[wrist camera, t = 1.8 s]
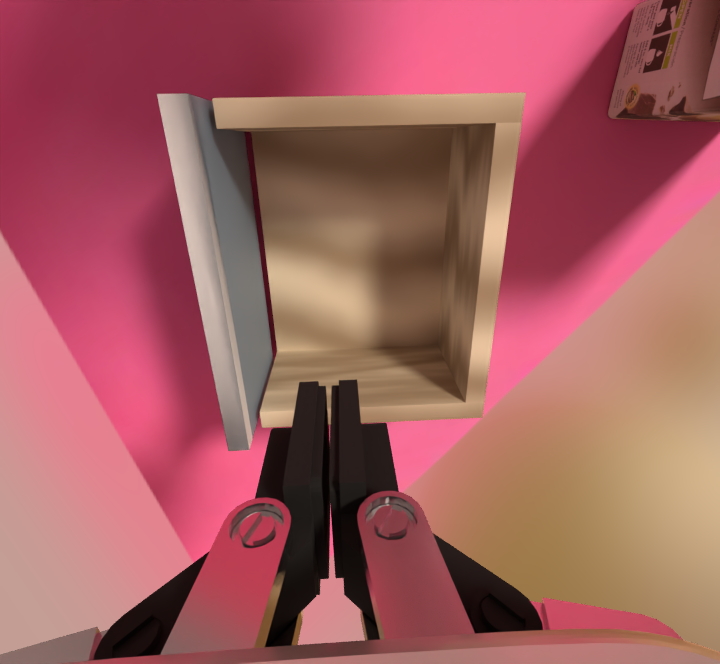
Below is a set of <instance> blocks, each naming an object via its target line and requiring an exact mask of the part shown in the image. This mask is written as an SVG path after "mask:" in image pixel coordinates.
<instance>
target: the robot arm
mask: <svg viewBox="0 0 720 664" xmlns="http://www.w3.org/2000/svg"><path fill="white" fill-rule="evenodd" d="M330 503H331V517H332V532H333V547H334V561H335V575H336V578H344V594H345V595H346V596H347V597H348V598H349V599H350V600H351V601H352V602H353V603H354V604H355V605H356V606H357V607H359V608H360V613H361V622H362V627H363V632H364V637H365V641H351V642H336V643H322V644H309V645H297V644H298V640H299V635H300V630H301V626H302V618H303V609H304V608H305V607H306V606H307V605H308V604H309V603H310V602H311V601H312V600H313V599H314V598H315V597H316V595H319V594H320V579H328V578H329V541H330ZM0 664H720V652H719V651H716V650H713V649H710V648H707V647H704V646H701V645H698V644H695V643H692V642H688V641H685V640H683V639H682V638H681V637H680V636H679V635H678V634H677V633H676V632H675V631H674V630H673V629H671V628H670V627H668V626H667V625H665V624H663V623H662V622H660V621H659V620H657V619H654V618H651V617H648V616H645V615H642V614H636V613H631V612H625V611H618V610H612V609H607V608H601V607H595V606H589V605H583V604H577V603H571V602H565V601H559V600H554V599H548V598H543V600H542V603H538V602H533V601H529V599H528V598H527V597H525V596H524V595H523V594H522V593H521V592H519V591H518V590H517V589H516V588H514V587H513V586H511V585H510V584H508V583H507V582H505V581H503V580H502V579H501V578H499V577H498V576H496V575H495V574H493V573H492V572H490V571H489V570H487V569H486V568H484V567H483V566H481V565H480V564H478V563H477V562H475V561H474V560H472V559H471V558H469V557H468V556H466V555H465V554H463V553H462V552H460V551H459V550H457V549H456V548H454V547H453V546H451V545H450V544H448V543H447V542H445V541H444V540H442V539H441V538H439V537H438V536H436V535H435V534H433V533H432V531H431V528H430V526H429V524H428V521H427V519H426V517H425V515H424V512H423V510H422V508H421V507H420V505H419V504H418V503H417V502H416V501H415V500H414V499H413V498H412V497H410V496H408V495H406V494H404V493H401V492H399V491H398V485H397V480H396V474H395V468H394V463H393V457H392V452H391V446H390V440H389V435H388V429H387V424H386V423H375V424H361V418H360V406H359V394H358V383H357V379H355V380H339V385H332V388H331V430H330V441H329V426H328V410H327V394H326V386H319V382H318V381H310V382H299V387H298V393H297V399H296V405H295V411H294V418H293V424H292V427H291V428H273V429H272V430H271V433H270V437H269V441H268V445H267V450H266V454H265V458H264V462H263V467H262V471H261V475H260V480H259V484H258V488H257V492H256V497H255V499H252V500H249V501H246V502H244V503H243V504H241V505H239V506H237V507H236V508H235V509H234V510H233V511H232V512H230V513H229V515H228V516H227V518H226V519H225V521H224V522H223V525H222V527H221V529H220V531H219V533H218V535H217V537H216V539H215V541H214V543H213V545H212V548H211V550H210V551H209V552H208V553H207V554H205V555H204V556H203V557H201V558H200V559H198V560H197V561H196V562H194V563H193V564H192V565H190V566H189V567H188V568H186V569H185V570H184V571H182V572H181V573H180V574H178V575H177V576H176V577H174V578H173V579H172V580H170V581H169V582H168V583H166V584H165V585H164V586H162V587H161V588H160V589H158V590H157V591H155V592H154V593H153V594H151V595H150V596H149V597H147V598H146V599H145V600H143V601H142V602H141V603H139V604H138V605H137V606H136V607H134V608H133V609H131V610H130V611H128V612H127V613H126V614H124V615H123V616H122V617H121V618H120V619H119V620H118V621H116V623H114V624H113V625H112V626H111V627H110V629H109V630H105V631H102V632H100V631H99V629H98V627H95V628H91V629H88V630H84V631H81V632H77V633H74V634H70V635H67V636H63V637H60V638H56V639H53V640H49V641H46V642H43V643H40V644H36V645H32V646H29V647H25V648H22V649H18V650H15V651H11V652H8V653H4V654H1V655H0Z"/></svg>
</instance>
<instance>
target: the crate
mask: <svg viewBox="0 0 720 664" xmlns="http://www.w3.org/2000/svg"><path fill="white" fill-rule="evenodd" d="M525 94H526V93H476V94H419V95H362V96H305V97H248V98H212V100H213V107H214V114H215V120H216V127H217V129H225V130H235V131H245V132H251V136H252V145H253V153H254V161H255V170H256V178H257V186H258V195H259V203H260V211H261V220H262V228H263V236H264V245H265V253H266V262H267V270H268V278H269V287H270V295H271V303H272V312H273V320H274V328H275V337H276V345H277V354H276V357H275V361H274V364H273V368H272V371H271V375H270V378H269V382H268V385H267V388H266V392H265V395H264V399H263V402H262V406H261V409H260V418H261V424H262V428H267V427H289V426H292V424H293V418H294V411H295V405H296V399H297V393H298V387H299V382H310V381H318V382H319V386H326V394H327V410H328V425H331V388H332V385H339V380H355V379H357V383H358V394H359V406H360V418H361V423H375V422H397V421H418V420H440V419H461V418H482V417H483V410H484V402H485V394H486V387H487V379H488V372H489V364H490V357H491V349H492V342H493V334H494V327H495V319H496V312H497V304H498V297H499V289H500V282H501V274H502V267H503V259H504V252H505V244H506V237H507V229H508V221H509V214H510V206H511V199H512V191H513V184H514V176H515V169H516V161H517V154H518V146H519V139H520V131H521V124H522V116H523V109H524V101H525Z"/></svg>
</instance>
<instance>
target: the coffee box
mask: <svg viewBox="0 0 720 664" xmlns="http://www.w3.org/2000/svg"><path fill="white" fill-rule="evenodd" d="M608 116H609V117H610V118H612V119H632V120H667V121H705V122H720V0H647V1H645V2H642V3H640V4H638V5H636V7H635V8H634V12H633V16H632V20H631V23H630V27H629V31H628V35H627V39H626V43H625V47H624V51H623V55H622V58H621V62H620V66H619V70H618V74H617V78H616V82H615V86H614V90H613V94H612V98H611V102H610V106H609V110H608Z"/></svg>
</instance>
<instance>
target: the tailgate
mask: <svg viewBox="0 0 720 664" xmlns="http://www.w3.org/2000/svg"><path fill="white" fill-rule="evenodd" d="M157 97H158V102H159V107H160V112H161V117H162V122H163V127H164V132H165V137H166V142H167V147H168V152H169V157H170V162H171V167H172V172H173V177H174V182H175V187H176V192H177V197H178V202H179V207H180V212H181V217H182V222H183V227H184V232H185V237H186V242H187V247H188V252H189V257H190V262H191V267H192V272H193V276H194V281H195V286H196V291H197V296H198V301H199V306H200V311H201V316H202V321H203V326H204V331H205V336H206V341H207V346H208V351H209V356H210V361H211V366H212V371H213V376H214V381H215V386H216V391H217V396H218V401H219V406H220V411H221V416H222V421H223V426H224V431H225V436H226V441H227V446H228V451H237V450H249V449H250V446H251V442H252V439H253V435H254V432H255V428H256V425H257V421H258V418H259V415H260V409H261V406H262V402H263V399H264V395H265V392H266V388H267V385H268V382H269V378H270V375H271V371H272V368H273V364H274V361H273V353H272V345H271V337H270V329H269V321H268V313H267V305H266V297H265V289H264V281H263V273H262V265H261V257H260V249H259V242H258V234H257V226H256V218H255V210H254V202H253V194H252V186H251V178H250V170H249V162H248V154H247V146H246V138H245V131H235V130H225V129H217V127H216V120H215V114H214V107H213V101H210V100H207V99H204V98H200V97H197V96H194V95H191V94H188V93H185V94H157Z"/></svg>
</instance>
